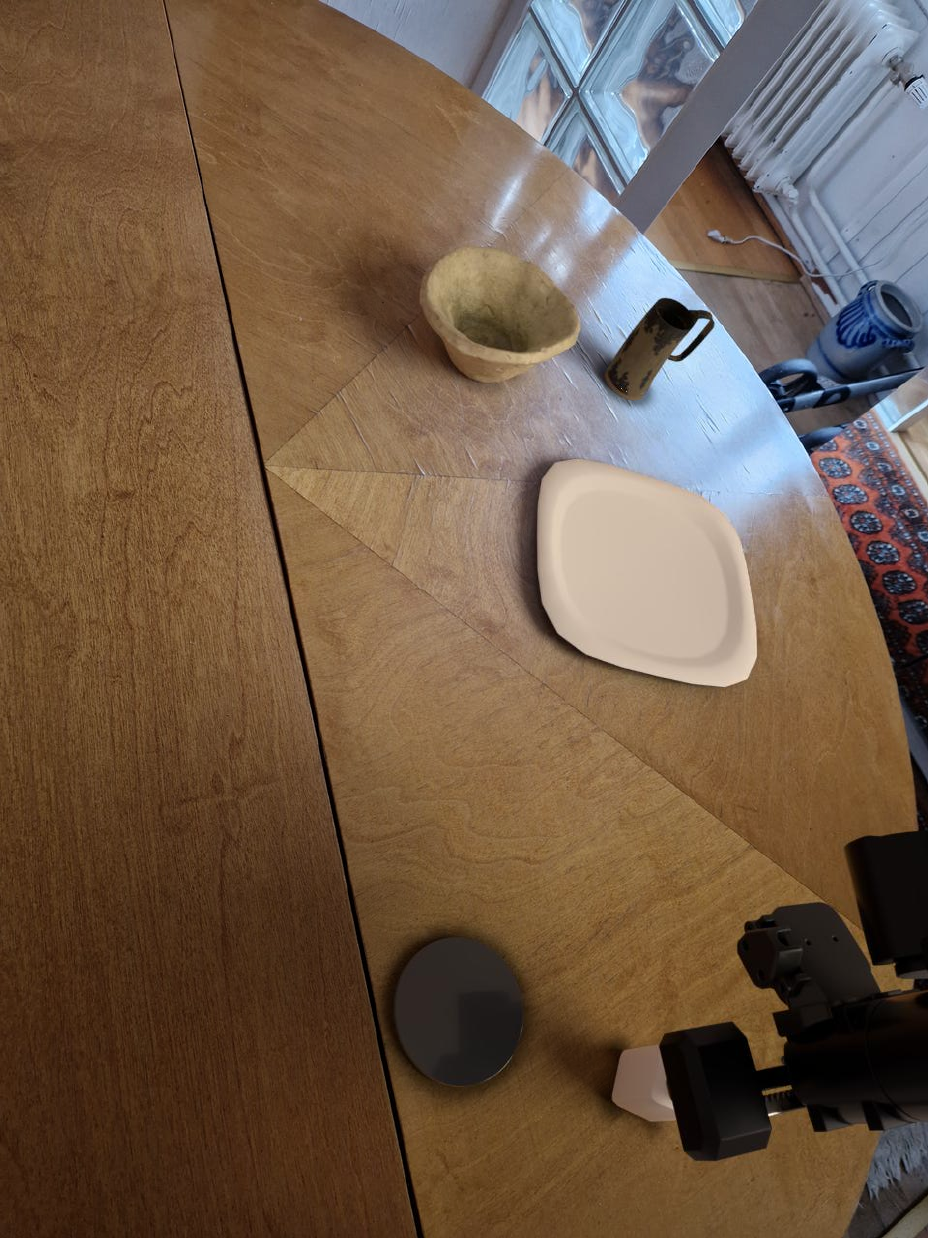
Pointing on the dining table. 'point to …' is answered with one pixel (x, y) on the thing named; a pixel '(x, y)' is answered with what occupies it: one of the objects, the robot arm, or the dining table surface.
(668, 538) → the plate
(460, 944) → the coaster
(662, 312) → the mug
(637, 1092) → the salt shaker
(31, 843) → the dining table surface
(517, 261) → the bowl
